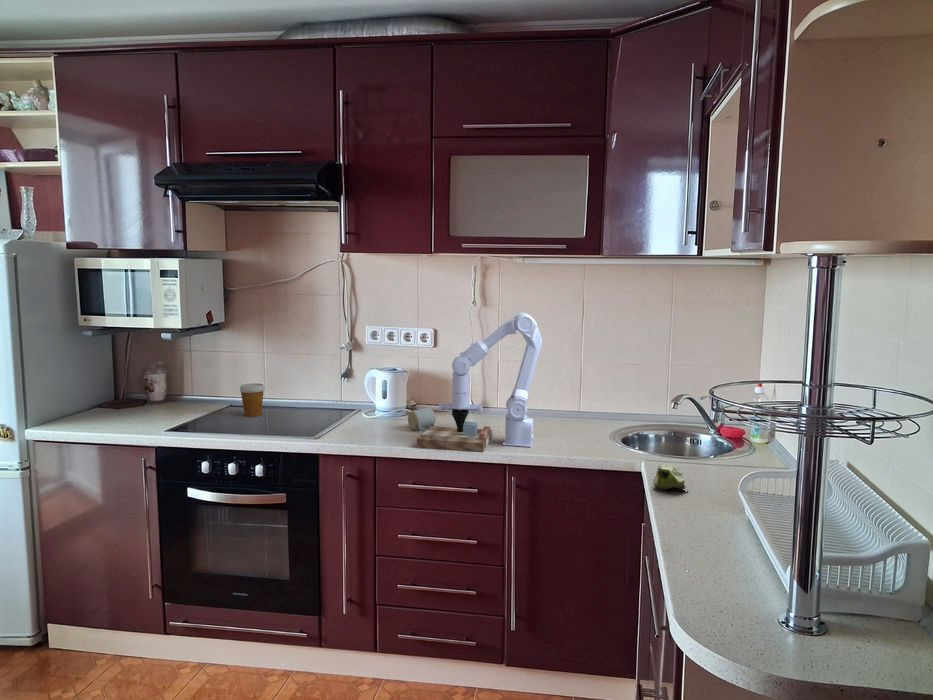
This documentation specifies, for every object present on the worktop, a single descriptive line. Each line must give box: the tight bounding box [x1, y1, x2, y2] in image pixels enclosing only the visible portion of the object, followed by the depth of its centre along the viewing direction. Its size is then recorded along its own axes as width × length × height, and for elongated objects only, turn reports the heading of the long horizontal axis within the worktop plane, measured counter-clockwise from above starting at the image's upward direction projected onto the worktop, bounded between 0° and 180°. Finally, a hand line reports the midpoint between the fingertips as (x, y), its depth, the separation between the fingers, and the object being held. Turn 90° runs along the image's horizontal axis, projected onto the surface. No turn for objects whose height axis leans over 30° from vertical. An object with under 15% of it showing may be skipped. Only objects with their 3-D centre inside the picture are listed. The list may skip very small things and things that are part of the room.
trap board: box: [416, 425, 493, 453], centre depth 223 cm, size 22×18×5 cm
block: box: [463, 421, 478, 437], centre depth 221 cm, size 4×4×4 cm
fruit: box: [652, 464, 687, 491], centre depth 179 cm, size 9×9×8 cm
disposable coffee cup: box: [239, 382, 266, 418], centre depth 260 cm, size 10×10×12 cm
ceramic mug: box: [407, 406, 437, 433], centre depth 240 cm, size 11×8×8 cm
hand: (460, 431), depth 222 cm, fingers closed
